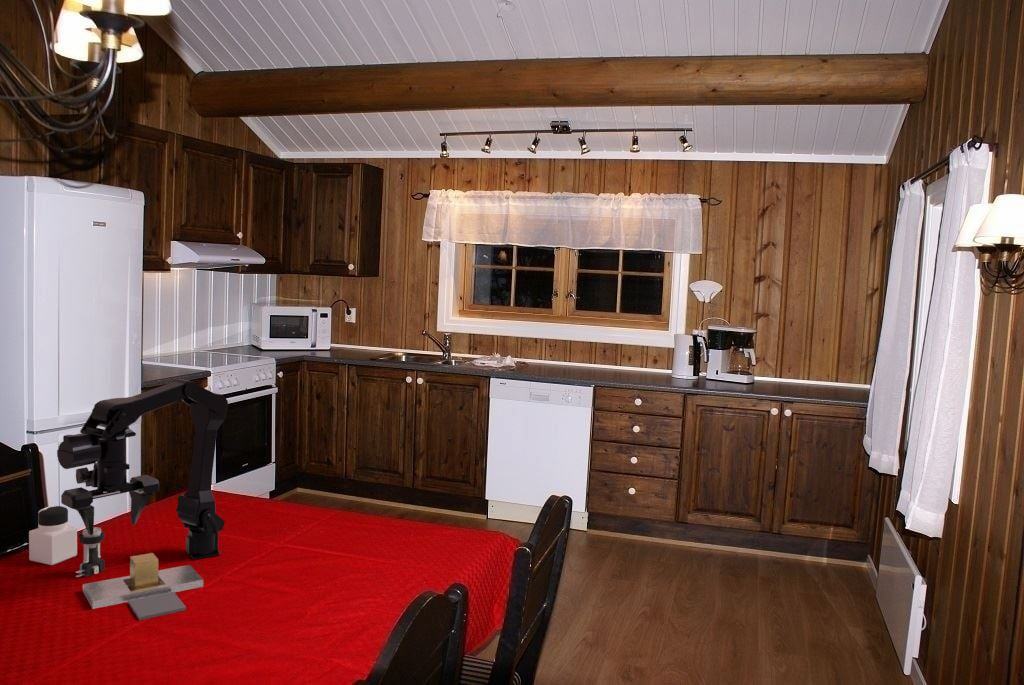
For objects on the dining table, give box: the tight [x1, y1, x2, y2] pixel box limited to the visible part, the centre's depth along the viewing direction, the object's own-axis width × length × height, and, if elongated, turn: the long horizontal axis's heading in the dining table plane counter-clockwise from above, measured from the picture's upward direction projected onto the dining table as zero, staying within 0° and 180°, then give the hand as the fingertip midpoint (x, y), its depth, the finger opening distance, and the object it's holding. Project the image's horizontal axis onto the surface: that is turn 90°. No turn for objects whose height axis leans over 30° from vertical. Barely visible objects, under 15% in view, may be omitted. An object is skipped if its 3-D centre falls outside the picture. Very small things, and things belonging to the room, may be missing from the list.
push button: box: [75, 526, 106, 578], centre depth 182 cm, size 7×5×10 cm
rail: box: [82, 564, 204, 610], centre depth 176 cm, size 22×10×2 cm, turn 128°
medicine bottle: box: [28, 505, 78, 566], centre depth 189 cm, size 7×7×12 cm
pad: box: [127, 592, 187, 621], centre depth 168 cm, size 9×9×1 cm
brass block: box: [129, 552, 159, 591], centre depth 175 cm, size 5×5×7 cm
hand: (112, 529), depth 176 cm, fingers open, 9 cm apart
